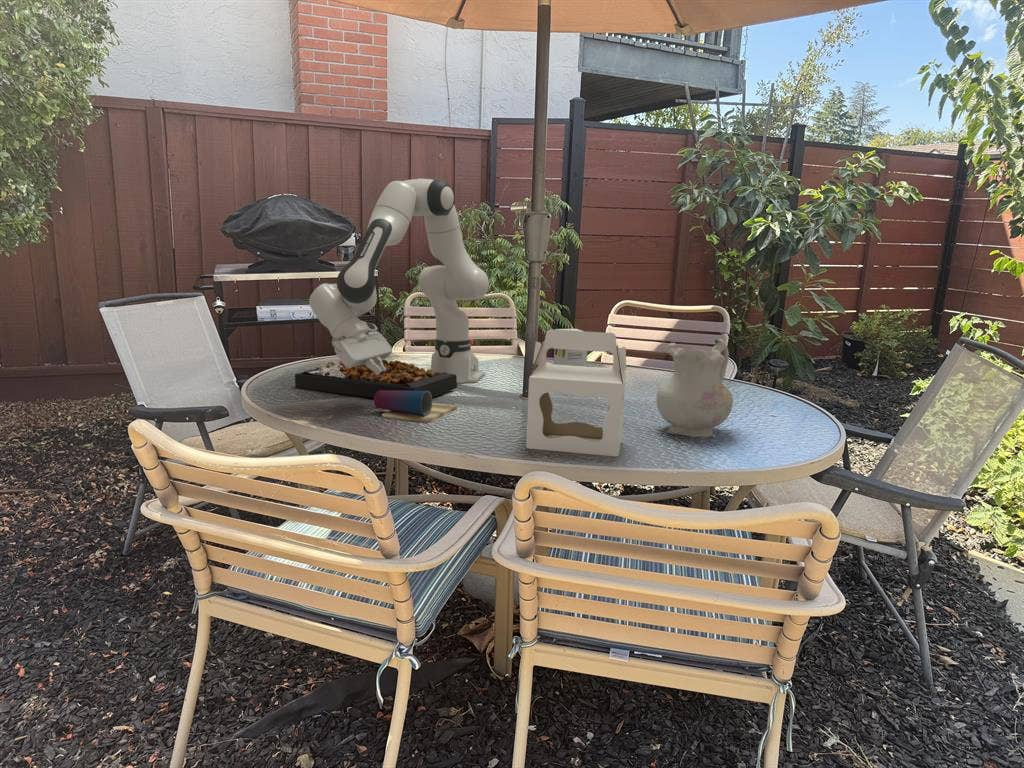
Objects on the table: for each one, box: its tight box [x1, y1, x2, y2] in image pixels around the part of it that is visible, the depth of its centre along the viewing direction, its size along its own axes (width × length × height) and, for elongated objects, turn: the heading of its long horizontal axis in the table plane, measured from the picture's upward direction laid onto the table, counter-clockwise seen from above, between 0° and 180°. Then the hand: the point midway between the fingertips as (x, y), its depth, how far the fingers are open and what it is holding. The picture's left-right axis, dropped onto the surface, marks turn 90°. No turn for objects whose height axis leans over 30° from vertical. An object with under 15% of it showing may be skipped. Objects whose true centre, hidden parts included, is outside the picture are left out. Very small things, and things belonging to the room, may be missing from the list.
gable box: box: [525, 329, 627, 458], centre depth 167 cm, size 22×13×28 cm, turn 78°
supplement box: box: [553, 328, 589, 367], centre depth 255 cm, size 10×9×17 cm
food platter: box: [294, 359, 458, 399], centre depth 222 cm, size 45×25×10 cm, turn 65°
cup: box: [373, 390, 433, 416], centre depth 191 cm, size 7×7×15 cm
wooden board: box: [381, 402, 458, 424], centre depth 195 cm, size 18×14×1 cm
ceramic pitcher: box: [656, 337, 734, 439], centre depth 183 cm, size 22×20×25 cm
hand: (382, 372), depth 192 cm, fingers closed
